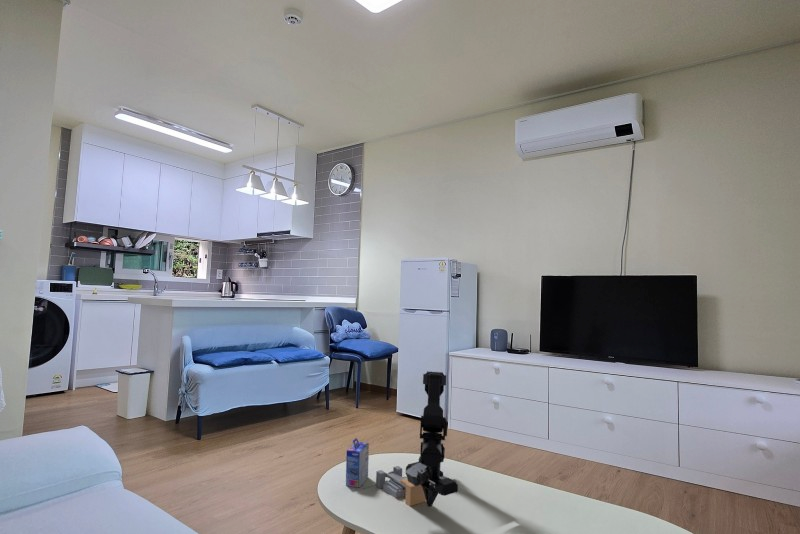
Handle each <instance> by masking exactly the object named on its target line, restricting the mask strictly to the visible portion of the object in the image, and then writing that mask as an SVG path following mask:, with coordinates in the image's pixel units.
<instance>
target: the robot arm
mask: <svg viewBox="0 0 800 534" xmlns="http://www.w3.org/2000/svg"><path fill="white" fill-rule="evenodd" d="M422 385H424V391H425V393H426V395H427V404H426V405H425V407H424V408H423V414H422V415H420V427H419V428H420V429H419V439H422V441H421V442H420V452H419V453H420V456H419V458H418V461H416V462H412V463H408V464H407V465H406V466H405V475H406V477H407V479H408V482H410V483H412V484H413V485H414V486H418V485H421V486H422V488H423V491H424V494H425V498H426V501H425V502H426V505H427V507H428V508H431V507H432V506H433V505H434V503H435V501H436V499H437V496H438V495H441V496H449V495H452V494H455V493H457V492H458V491H459V489H458V488H459V484H458V482H457V481H455V480H453V479H451V478H449V477H445V478H443V477H441V476H444V471H443V470H441V463H443V462H444V460H445V452H446V449H445V446H444V443H442V441H446V437H447V436H448V420H447V418H446V417H445V416H444V409H443V408H442V407H441V397H442V394H443V393H444V391H445V390H444V389H445V386H447V375H446V374H444V372H442V371H441V372H440V371H428V370H427V371H426V373H423V374H422Z"/></svg>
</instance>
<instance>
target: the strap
mask: <svg viewBox="0 0 800 534" xmlns="http://www.w3.org/2000/svg"><path fill="white" fill-rule="evenodd" d="M402 477H403V476H402ZM402 477H401V476H399V475H397V474H395V473H394V472H393V470H392V471H388V472H385V478H388V479H389V480H390V479H391V480H393V481H395V482H396V483H398V484H400V485H401V486H403V487H405V488H406V486H405V485H403V484H402V483H400V480H402V479H405V478H402Z"/></svg>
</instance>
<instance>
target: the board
mask: <svg viewBox="0 0 800 534" xmlns="http://www.w3.org/2000/svg"><path fill="white" fill-rule="evenodd" d="M392 471H393V472H394V473H395V474H397V475H399V476H401V477H402V478H404V479H405V478H407V476H403V468H402V467H401V466H398V465H397V466H393V470H392ZM385 473H386V472H385V471H384V470H382V469H380V470H377V471H376V475H375V484H372V485H368V486H364V487H363V488H362V490H367V489H370V488H375V487H376V488H378V489H383V491H384V492H385V493H387V494H389V495H390V496H392V498H393V499H398V498H401V497H406V488H405V487H403V486H401V485H400V484H398V483H396V482H395V481H393V480H391V479H389V480H386V477H385Z"/></svg>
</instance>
